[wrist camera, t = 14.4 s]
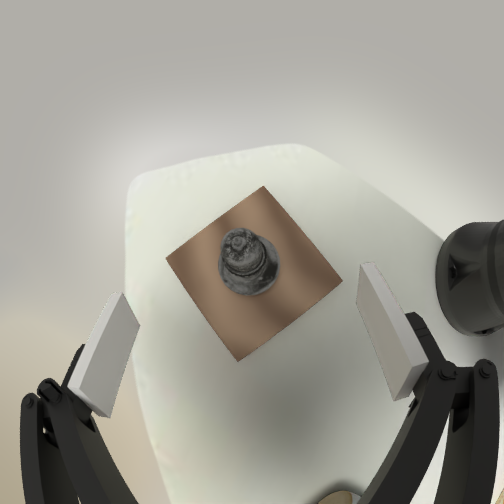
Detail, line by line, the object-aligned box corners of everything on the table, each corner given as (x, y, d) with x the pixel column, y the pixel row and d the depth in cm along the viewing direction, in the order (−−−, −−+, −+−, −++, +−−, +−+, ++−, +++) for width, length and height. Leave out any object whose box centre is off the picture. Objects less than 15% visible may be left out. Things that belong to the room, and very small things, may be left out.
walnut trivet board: (263, 191, 33) (263, 185, 32) (339, 282, 30) (343, 281, 28) (170, 260, 32) (165, 258, 31) (239, 359, 29) (237, 361, 27)
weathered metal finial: (220, 249, 30) (188, 208, 19) (273, 238, 30) (272, 190, 19) (229, 302, 29) (199, 293, 17) (284, 291, 29) (291, 275, 17)
